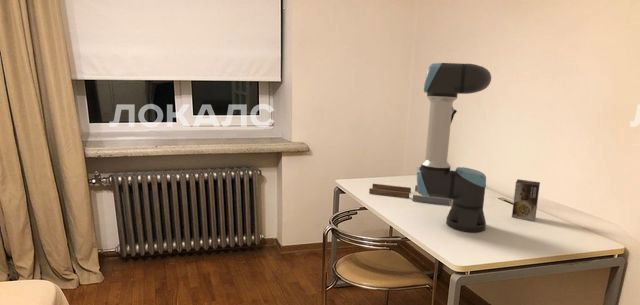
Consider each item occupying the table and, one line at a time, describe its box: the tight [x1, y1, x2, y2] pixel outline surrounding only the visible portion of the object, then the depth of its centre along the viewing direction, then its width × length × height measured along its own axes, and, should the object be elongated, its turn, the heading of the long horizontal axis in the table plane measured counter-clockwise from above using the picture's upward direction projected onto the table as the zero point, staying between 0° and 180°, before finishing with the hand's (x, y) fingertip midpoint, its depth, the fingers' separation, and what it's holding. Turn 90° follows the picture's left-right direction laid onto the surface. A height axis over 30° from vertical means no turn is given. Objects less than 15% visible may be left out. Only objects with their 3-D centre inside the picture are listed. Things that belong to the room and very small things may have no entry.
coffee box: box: [511, 178, 541, 222], centre depth 169 cm, size 9×6×16 cm
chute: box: [368, 183, 412, 199], centre depth 200 cm, size 11×20×2 cm, turn 73°
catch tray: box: [412, 184, 451, 206], centre depth 194 cm, size 19×17×3 cm
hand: (441, 140), depth 206 cm, fingers closed
